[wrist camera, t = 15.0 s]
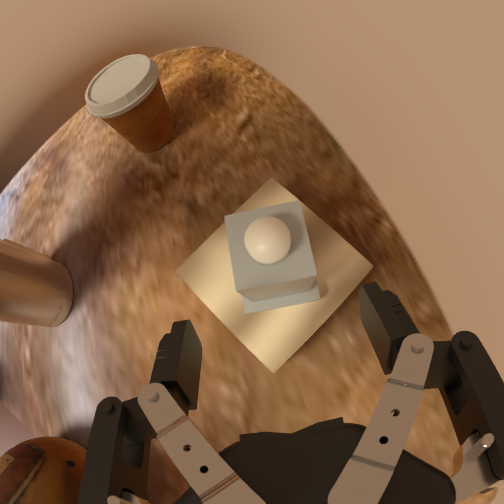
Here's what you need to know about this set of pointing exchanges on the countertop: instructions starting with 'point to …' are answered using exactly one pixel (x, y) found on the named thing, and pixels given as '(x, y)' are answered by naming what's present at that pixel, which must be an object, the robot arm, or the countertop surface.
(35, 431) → the countertop surface
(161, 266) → the countertop surface
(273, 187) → the birch block
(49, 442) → the ceramic pitcher
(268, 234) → the grey box with knob
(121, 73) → the disposable coffee cup
